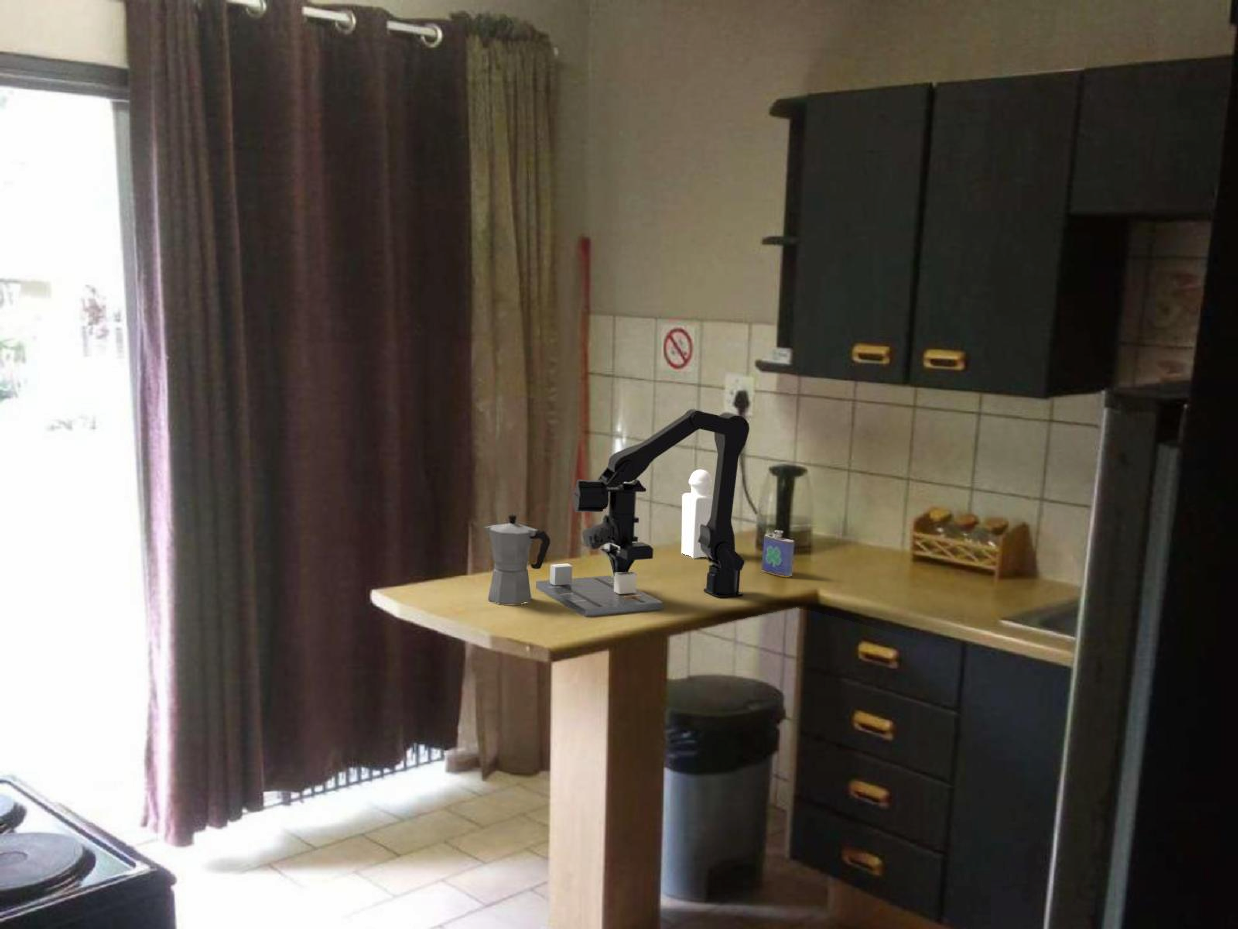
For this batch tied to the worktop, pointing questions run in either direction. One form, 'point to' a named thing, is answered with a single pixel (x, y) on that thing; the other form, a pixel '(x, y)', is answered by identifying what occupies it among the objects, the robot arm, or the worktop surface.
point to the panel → (598, 597)
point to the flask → (777, 554)
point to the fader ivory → (625, 582)
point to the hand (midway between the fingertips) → (618, 583)
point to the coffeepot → (513, 560)
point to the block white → (560, 574)
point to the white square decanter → (695, 512)
